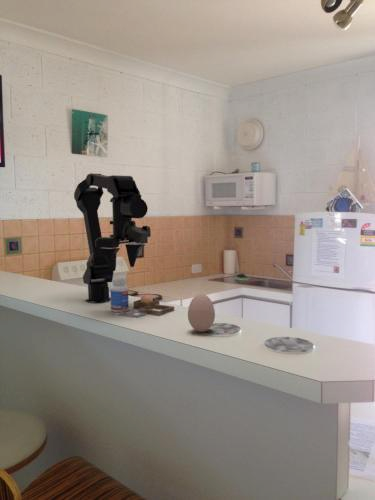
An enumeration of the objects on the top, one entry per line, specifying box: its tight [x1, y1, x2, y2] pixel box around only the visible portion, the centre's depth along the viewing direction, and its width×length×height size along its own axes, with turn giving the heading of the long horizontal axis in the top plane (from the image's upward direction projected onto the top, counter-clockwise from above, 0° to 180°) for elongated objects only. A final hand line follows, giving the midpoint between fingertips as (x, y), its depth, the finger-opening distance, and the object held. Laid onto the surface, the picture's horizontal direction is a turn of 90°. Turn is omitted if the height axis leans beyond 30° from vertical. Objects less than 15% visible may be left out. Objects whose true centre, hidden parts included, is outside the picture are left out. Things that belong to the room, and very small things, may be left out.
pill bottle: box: [110, 277, 130, 313], centre depth 142 cm, size 6×5×10 cm
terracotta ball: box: [139, 294, 154, 303], centre depth 145 cm, size 4×4×4 cm
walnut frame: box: [133, 298, 160, 310], centre depth 145 cm, size 6×6×2 cm
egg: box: [187, 293, 216, 333], centre depth 116 cm, size 7×7×10 cm
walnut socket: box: [138, 304, 175, 317], centre depth 140 cm, size 8×8×1 cm
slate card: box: [118, 310, 148, 318], centre depth 136 cm, size 7×5×1 cm
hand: (123, 268), depth 141 cm, fingers open, 9 cm apart
